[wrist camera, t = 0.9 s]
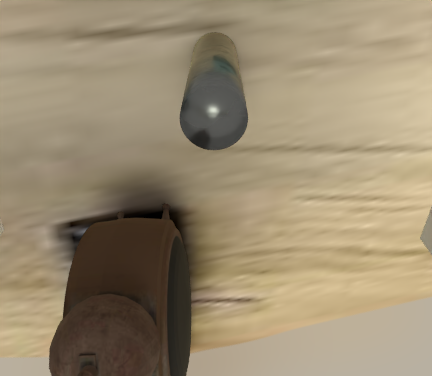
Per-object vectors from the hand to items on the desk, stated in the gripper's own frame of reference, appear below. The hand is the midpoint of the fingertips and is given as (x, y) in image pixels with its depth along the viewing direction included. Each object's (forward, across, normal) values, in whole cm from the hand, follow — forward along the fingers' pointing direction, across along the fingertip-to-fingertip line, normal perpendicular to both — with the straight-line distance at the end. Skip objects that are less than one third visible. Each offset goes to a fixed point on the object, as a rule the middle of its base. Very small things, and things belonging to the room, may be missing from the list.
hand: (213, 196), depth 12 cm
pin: (+19, 0, 0) cm, 19 cm away
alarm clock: (+19, -5, -17) cm, 26 cm away
